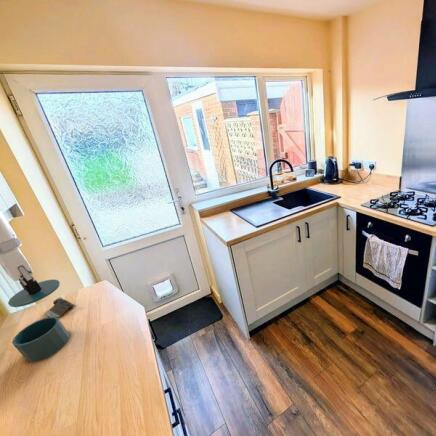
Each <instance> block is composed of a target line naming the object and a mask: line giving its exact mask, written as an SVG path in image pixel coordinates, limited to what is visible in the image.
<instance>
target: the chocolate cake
mask: <svg viewBox="0 0 436 436" xmlns="http://www.w3.org/2000/svg"><path fill="white" fill-rule="evenodd" d="M52 304H53V306H51V308H50V309H49V310H47V311H46V312H45V315H46V318H47V317H57V318H61V317H62V316H63V315H64V314H65V313H66V312H67V311H68V309H69V308H73V307H75V304H73V303H72V302H70V301H68V300H66V299H64V298H62V297H60V296H59V297H58V298H56V299H53V301H52Z"/></svg>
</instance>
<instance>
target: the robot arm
mask: <svg viewBox="0 0 436 436" xmlns="http://www.w3.org/2000/svg"><path fill="white" fill-rule="evenodd" d="M15 232H16V231H14V229H13V228H12V226H11V224H10V222H9V221H8V220H7V218H6V217H5V215H4V213H3V212H2V211H1V210H0V266H1V268H2V269H3V271H4V272H5V273H6V276H8V277H9V278H10V279H11V280H12V281H14V282H18V281H19V284H20V286H21V287H22V289H24V290H25V289H26V290H27V292H28V293H29V294H30V295H31V294H34V293H36V292H38V291H40V290H41V287H40V286H39V284H38V283H39V282H38V281H37V280H36V279H35V278H34V276H33V274H34V270H33V268H32V266H31V265H30V263H29V262H28V259H27V258H26V257H25V255H24V253H23V252H22V250H21V249H20V247H22V246H23V243H22V242H21V240H20V238H19V237H18V235H17V233H15ZM24 278H25V279H24ZM20 281H22V283H23V284H24V285H22V284H21V282H20ZM23 286H24V287H25V288H24V287H23ZM26 290H25V291H26Z"/></svg>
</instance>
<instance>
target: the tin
mask: <svg viewBox="0 0 436 436" xmlns="http://www.w3.org/2000/svg"><path fill="white" fill-rule="evenodd" d="M69 339H70V333H69V331H68V330H67V329H66V327H65V326H64V325H63V323H62V321H61V320H60V318H59V317H47V316H46V317H44V318H41V319H39V320H36V321H34V322H32V323H30V324H28V325H27V326H25V327H24V328H22V329H21V330H20V331H19V332H18V333H17V334H16V335H15V336H14V337H13V340H12V342H11V344H12V345H13V346H14V347H15V349H16V350H17V352H19V353H20V355H21V356H22V357H23V358H24V359H25V360H26V362H29V363H35V362H36V363H37V362H39V361H40V362H41V361H42V360H45V359H47V358H49V357H51V356H53V355H54V354H56V353H58V352H59V351H60V350H61V349H62V348H63V347H64V346H65V345H66V344H67V343H68V341H69Z"/></svg>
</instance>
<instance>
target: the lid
mask: <svg viewBox="0 0 436 436" xmlns="http://www.w3.org/2000/svg"><path fill="white" fill-rule="evenodd" d="M24 279H25V278H24ZM19 282H21V284H22V285H24V284H23V283H22V281H19ZM21 284H20V285H21ZM38 284H39V286H40V287H41V290H40V291H38V292H36V293H34V294H31V295H30V294H29V293H28V292H27V290H26V289H25V290H26V291H25V290H24V288H25V287H24V286H23V287H24V288H23V287H22V289H21V290H19V291H18V292H17V293H15V294H14V295H12V296H11V297H10V299H9V300H8V302H7V304H8V306H9V307H11V308H20V307H25V306H28V305H31V304H34V303H37V302H39V301H41V300H42V299H44V298H47V297H49V296H50V295H52V294H53V293H54V292H55V291H56V290H57V289H59V287H60V286H61V282H60V280H58V279H46V280H42V281H40V282H38Z"/></svg>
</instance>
